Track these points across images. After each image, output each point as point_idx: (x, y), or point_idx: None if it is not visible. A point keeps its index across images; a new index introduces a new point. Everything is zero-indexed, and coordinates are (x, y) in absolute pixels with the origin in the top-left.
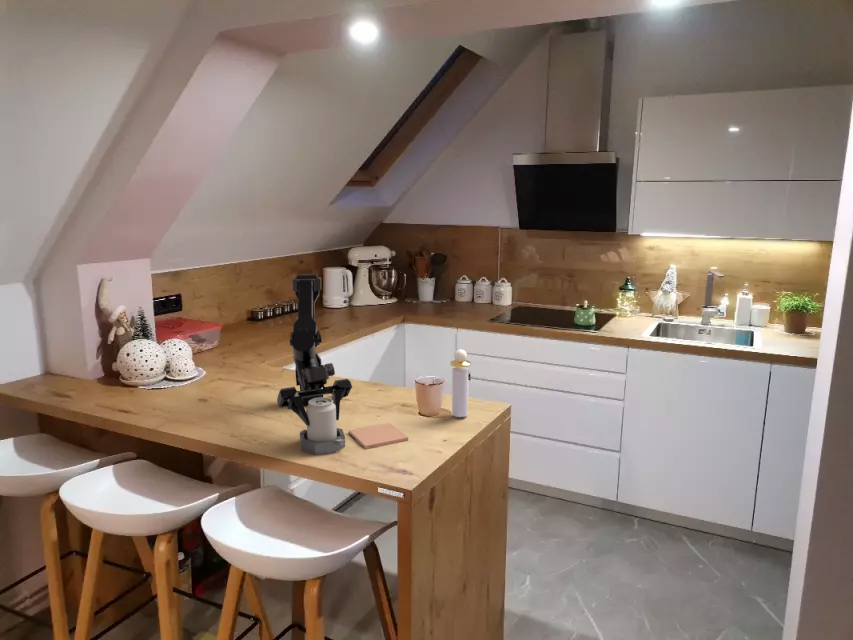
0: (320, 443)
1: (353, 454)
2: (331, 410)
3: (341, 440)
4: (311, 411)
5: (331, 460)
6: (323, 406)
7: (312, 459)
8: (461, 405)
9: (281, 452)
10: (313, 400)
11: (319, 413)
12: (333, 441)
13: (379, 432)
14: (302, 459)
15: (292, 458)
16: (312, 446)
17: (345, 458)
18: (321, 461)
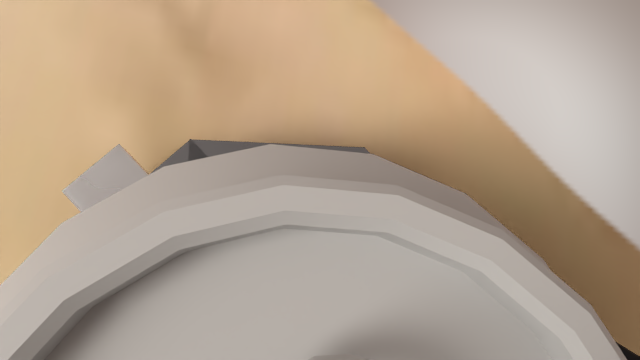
0: (313, 146)
1: (54, 94)
2: (82, 216)
3: (103, 177)
4: (525, 248)
5: (241, 43)
6: (270, 201)
7: (371, 101)
8: None
9: (582, 291)
10: None
11: (361, 156)
12: (188, 145)
13: None
14: (439, 123)
15: (505, 161)
16: None
17: (133, 43)
18: (312, 49)
